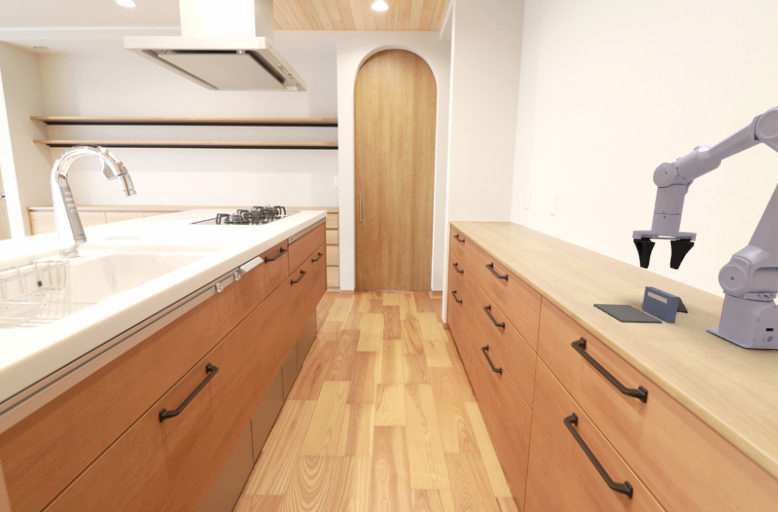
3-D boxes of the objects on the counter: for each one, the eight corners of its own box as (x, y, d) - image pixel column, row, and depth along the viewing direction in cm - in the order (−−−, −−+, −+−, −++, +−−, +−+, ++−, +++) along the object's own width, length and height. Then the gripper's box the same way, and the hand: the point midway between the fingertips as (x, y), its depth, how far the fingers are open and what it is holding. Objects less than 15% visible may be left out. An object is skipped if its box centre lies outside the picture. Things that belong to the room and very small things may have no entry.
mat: (661, 323, 89) (662, 321, 89) (621, 322, 88) (621, 320, 88) (628, 306, 100) (629, 304, 100) (593, 305, 100) (593, 303, 100)
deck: (674, 323, 89) (679, 297, 88) (667, 323, 89) (672, 297, 88) (648, 310, 98) (652, 286, 97) (641, 310, 98) (645, 286, 97)
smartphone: (652, 306, 100) (648, 292, 113) (652, 310, 100) (647, 295, 113) (689, 312, 96) (680, 296, 109) (688, 315, 97) (679, 299, 110)
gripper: (684, 213, 102) (676, 265, 104) (628, 211, 102) (621, 264, 104) (706, 215, 95) (696, 271, 98) (646, 213, 95) (637, 269, 97)
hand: (658, 268), depth 100 cm, fingers open, 7 cm apart
